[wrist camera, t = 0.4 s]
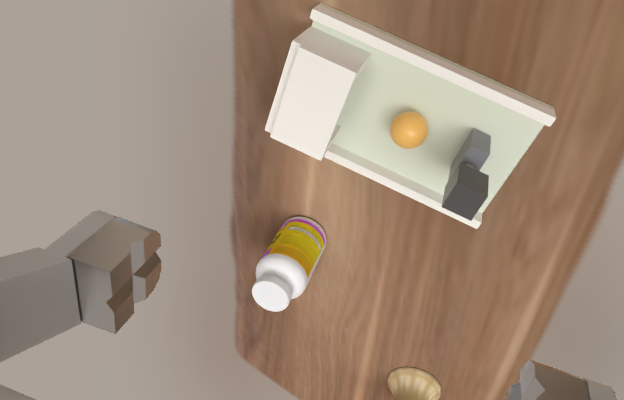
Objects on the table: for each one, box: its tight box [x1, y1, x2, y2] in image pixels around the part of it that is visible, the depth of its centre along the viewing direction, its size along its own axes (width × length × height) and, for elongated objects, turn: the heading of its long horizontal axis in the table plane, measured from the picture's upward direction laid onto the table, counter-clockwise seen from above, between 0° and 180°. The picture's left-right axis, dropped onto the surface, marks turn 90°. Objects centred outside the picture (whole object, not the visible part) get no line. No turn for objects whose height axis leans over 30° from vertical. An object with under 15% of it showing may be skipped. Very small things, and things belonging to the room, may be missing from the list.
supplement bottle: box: [252, 217, 326, 312], centre depth 64 cm, size 7×7×13 cm
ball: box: [390, 111, 428, 149], centre depth 53 cm, size 4×4×4 cm
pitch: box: [265, 3, 556, 229], centre depth 53 cm, size 15×26×8 cm, turn 71°
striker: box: [441, 128, 491, 221], centre depth 50 cm, size 5×3×11 cm, turn 161°
